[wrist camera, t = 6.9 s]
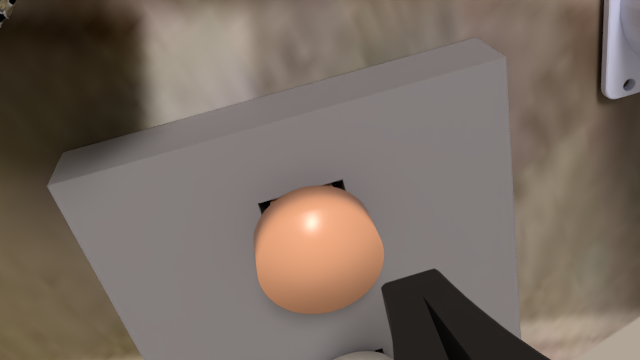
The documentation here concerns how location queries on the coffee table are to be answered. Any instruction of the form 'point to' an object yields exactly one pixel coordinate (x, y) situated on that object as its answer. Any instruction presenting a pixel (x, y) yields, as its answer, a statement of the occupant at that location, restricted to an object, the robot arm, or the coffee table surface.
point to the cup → (6, 9)
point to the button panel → (290, 174)
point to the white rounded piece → (364, 356)
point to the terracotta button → (317, 250)
